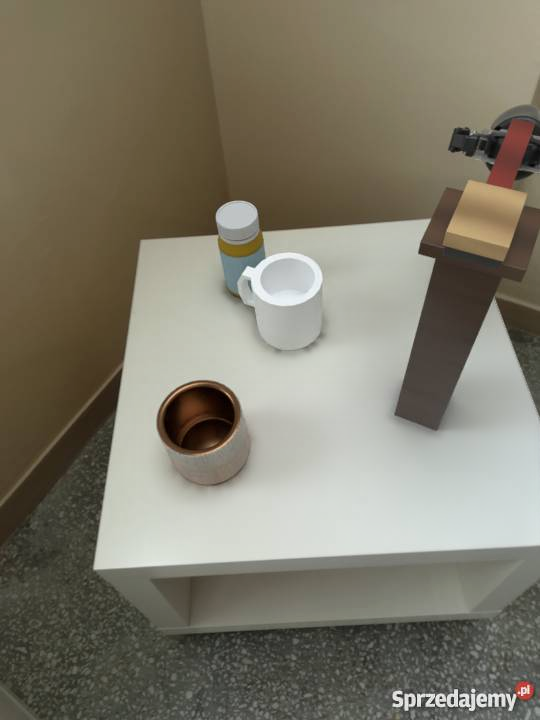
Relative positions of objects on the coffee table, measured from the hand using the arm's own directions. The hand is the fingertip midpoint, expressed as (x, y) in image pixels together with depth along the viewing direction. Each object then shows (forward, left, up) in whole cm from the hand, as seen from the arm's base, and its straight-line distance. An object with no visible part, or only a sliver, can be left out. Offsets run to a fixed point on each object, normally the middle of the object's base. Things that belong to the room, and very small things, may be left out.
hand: (512, 154), depth 55 cm
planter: (+14, +38, -31) cm, 51 cm away
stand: (-4, +14, -31) cm, 34 cm away
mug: (+21, +15, -31) cm, 40 cm away
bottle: (+31, +13, -31) cm, 46 cm away
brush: (-3, +9, +2) cm, 10 cm away
